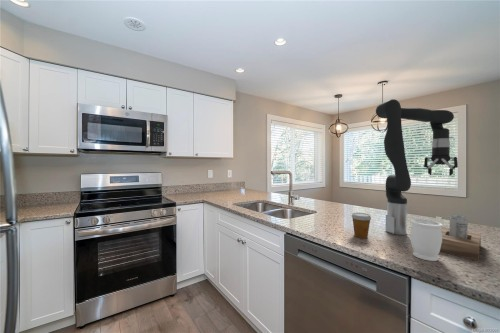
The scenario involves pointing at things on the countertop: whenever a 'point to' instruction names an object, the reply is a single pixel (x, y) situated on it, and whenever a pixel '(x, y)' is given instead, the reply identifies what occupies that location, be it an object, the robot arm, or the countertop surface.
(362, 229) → the disposable coffee cup
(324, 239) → the countertop surface
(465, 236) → the energy drink can
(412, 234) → the jar
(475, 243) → the cutout shelf
